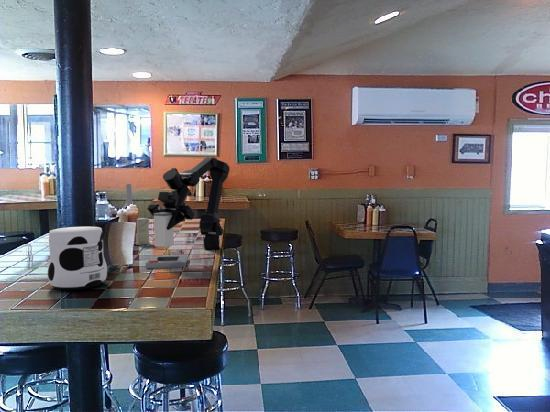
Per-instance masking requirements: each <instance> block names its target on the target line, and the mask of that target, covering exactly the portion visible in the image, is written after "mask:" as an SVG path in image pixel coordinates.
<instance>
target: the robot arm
mask: <svg viewBox="0 0 550 412" xmlns="http://www.w3.org/2000/svg"><path fill="white" fill-rule="evenodd" d="M207 172H209V176H210V178H211V179H210V180H211V184H210V188H209V189H210V191H209V195H208V201H207V207H206V211H205V212H204V213H202V214H200V218H199V219H200V220H199V226H198V227H199V230H200V234H201V236H204V238H203V248H204V250H205V251H207V250H208V251H209V250H212V251H213V250H220V249H221V245H220V237H221V236H223V235H224V229H223V227H222V225H221V219H220V216H219V214H218V213H219V207H220V201H221V196H222V190H223V186H224V185H223V184H224V182H225V181H226V180H227V179H228V177H229V173H230V166H229V164H228V163H227V162H224V161H223V160H219V159H217V158H216V157H212V156H211V157H207V156H206V157H204V158H203V160H201V162H199V163H197V165H195V166H193V168H191V169H188V170H184V171H181V172H180V173H179V171H178V169H177V168H176V167H171V169H169V170H167V171H166V172H165V173H163V175H162V179H163V180H164V182H165V183H166V186H168V188H169V189H170V190H172V191H171V192H169V191H159V193H158V196H157V201H159V202H161V204H162V206H160V204H157V203H156V204H154V203H150V204H149V205H148V206H147V211H148V212H149V213H150V215H151V216H152V218H154V216H153V214H154V213H160V212H171V213H172V217H171V219H170V221H169V223H168V226H167V230H169V229H171V228H172V227H173V228H174V227H175V226H177V225H178V224H180V223H182V222H184V221H186V220H187V221H189V220H191V221H192V220H193V219H194V217H195V212H194V211H193V209H192V208H191V206H190V205H189V204H188V205H187V204H186V203H185V201H186V200H187V198H188V197H192V196H193V194H192V191H191V190H192V189H190V188H191V187H192V188H193V187H197V185H198V183H199V182H200V179H201V177H203V176H204V175H205V174H206V173H207Z"/></svg>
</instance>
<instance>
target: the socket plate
mask: <svg viewBox="0 0 550 412" xmlns="http://www.w3.org/2000/svg"><path fill="white" fill-rule="evenodd" d="M188 256H189V255H188V254H172V255H171V254H169V255H167V254H166V255H151V256H150V257H149V258H148V260H147V261H146V262H145V269H146V270H147V269H176V268H180V269H181V268H185V267H186V265H187V263H188V261H189V257H188Z"/></svg>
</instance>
